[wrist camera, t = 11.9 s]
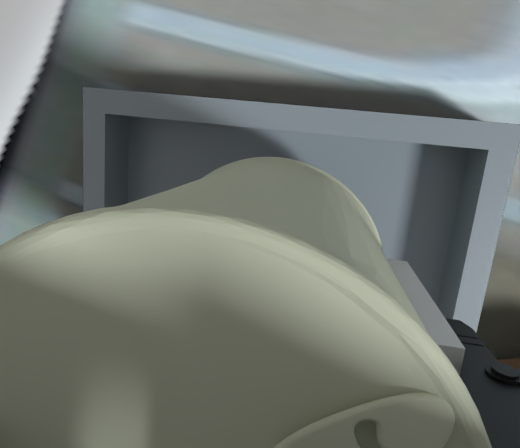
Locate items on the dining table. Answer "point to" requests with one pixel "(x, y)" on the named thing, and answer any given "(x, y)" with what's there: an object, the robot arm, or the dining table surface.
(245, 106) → the tray
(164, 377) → the can
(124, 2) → the dining table surface
